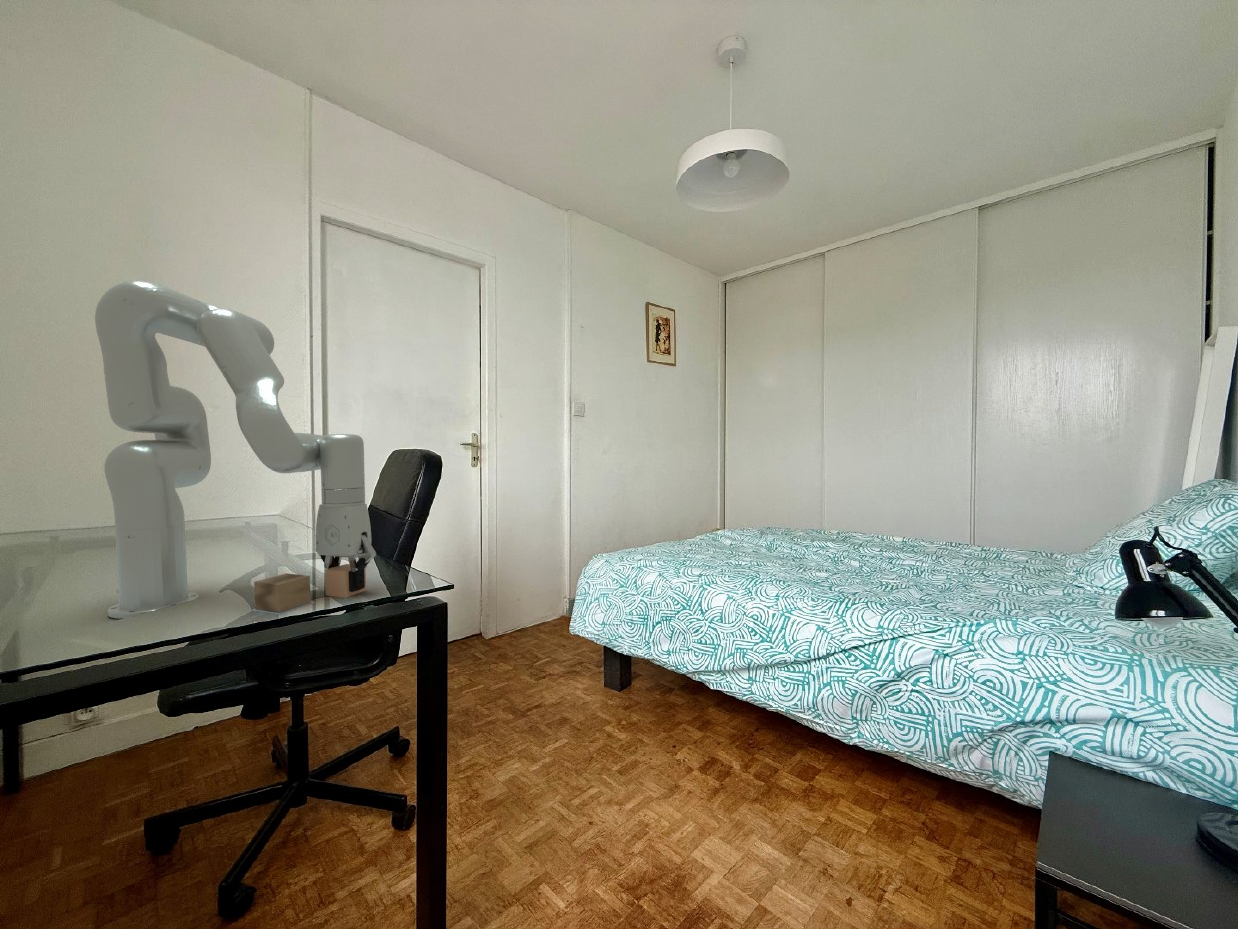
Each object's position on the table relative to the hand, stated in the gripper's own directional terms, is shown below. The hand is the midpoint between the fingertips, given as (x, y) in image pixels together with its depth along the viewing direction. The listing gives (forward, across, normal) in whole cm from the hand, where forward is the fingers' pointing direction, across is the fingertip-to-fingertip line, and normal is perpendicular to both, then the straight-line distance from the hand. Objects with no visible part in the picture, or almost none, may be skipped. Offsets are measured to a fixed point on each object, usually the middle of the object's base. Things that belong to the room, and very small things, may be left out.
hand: (346, 587), depth 99 cm
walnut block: (+1, -4, -10) cm, 11 cm away
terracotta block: (+2, 0, 0) cm, 2 cm away
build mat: (+2, -4, -10) cm, 11 cm away
